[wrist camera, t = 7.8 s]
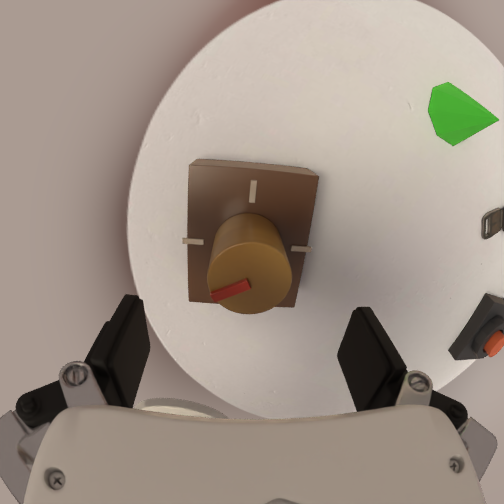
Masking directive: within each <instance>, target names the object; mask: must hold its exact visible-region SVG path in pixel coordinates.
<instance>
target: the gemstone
mask: <svg viewBox="0 0 504 504" xmlns="http://www.w3.org/2000/svg"><path fill="white" fill-rule="evenodd" d="M428 112H429V115H430V117H431V120H432V123H433V125H434V128H435V131H436V134H437V136H439V137H440V138H442V139H443V140H445V141H447V142H448V143H450V144H451V145H452V146H454V145H456V144H458V143H460V142H461V141H463V140H465V139H467V138H468V137H470V136H472V135H474V134H476V133H477V132H479V131H481V130H483V129H484V128H486V127H488V126H490V125H491V124H493V123H495V122H497V121H498V120H499V119H498V118H497V117H495V116H494V115H493V114H492V113H491V112H489V111H488V110H487V109H486V108H484V107H483V106H482V105H480V104H479V103H478V102H477V101H475V100H474V99H472V98H471V97H470V96H468V95H467V94H466V93H464V92H463V91H461V90H460V89H458V88H457V87H455V86H454V85H452V84H451V83H449V82H447V83H444V84H441V85H439V86H436V87H434V88H433V89H432V94H431V99H430V104H429V108H428Z"/></svg>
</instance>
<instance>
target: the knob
mask: <svg viewBox="0 0 504 504" xmlns="http://www.w3.org/2000/svg"><path fill="white" fill-rule="evenodd" d="M207 283H208V287H209V290H210V296H211V298H212V299H213V301H214V302H215V303H216V302H218V303H219V304H220V305H222V306H223V307H225V308H226V309H228V310H230V311H233V312H236V313H241V314H257V313H261V312H265V311H267V310H270V309H272V308H273V307H275V306H276V305H278V304H279V303H280V302H281V301H282V300H283V299H284V298H285V296H286V295H287V293H288V291H289V289H290V286H291V283H292V271H291V267H290V264H289V261H288V258H287V255H286V252H285V249H284V246H283V243H282V240H281V237H280V234H279V231H278V230H277V228H276V227H275V225H274V224H273V223H272V222H271V221H270V220H268V219H267V218H265V217H263V216H261V215H257V214H252V213H245V214H239V215H236V216H233V217H231V218H229V219H228V220H226V221H225V222H224V223H223V224H222V225H221V226H220V227H219V229H218V231H217V233H216V235H215V239H214V244H213V248H212V253H211V258H210V263H209V268H208V273H207Z"/></svg>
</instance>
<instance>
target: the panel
mask: <svg viewBox="0 0 504 504" xmlns="http://www.w3.org/2000/svg"><path fill="white" fill-rule="evenodd" d="M318 179H319V176H318V175H316V174H315V173H313V172H312V171H311V170H309V169H307V168H300V167H292V166H283V165H274V164H264V163H253V162H241V161H226V160H209V159H196V160H195V161H194V162H192V163H191V164H190V165H189V178H188V223H187V238H183V239H182V240H183V244H187V247H188V293H189V301H190V302H202V303H215V302H214V301H213V299H212V298H211V296H210V290H209V287H208V283H207V273H208V268H209V263H210V258H211V253H212V248H213V244H214V239H215V235H216V233H217V231H218V229H219V227H220V226H221V225H222V224H223V223H224V222H225V221H226V220H228V219H229V218H231V217H233V216H236V215H239V214H245V213H252V214H257V215H261V216H263V217H265V218H267V219H268V220H270V221H271V222H272V223H273V224H274V225H275V227H276V228H277V230H278V231H279V234H280V237H281V240H282V243H283V246H284V249H285V252H286V255H287V258H288V261H289V264H290V267H291V271H292V283H291V286H290V289H289V291H288V293H287V295H286V296H285V298H284V299H283V300H282V301H281V302H280V303H279V304H278V305H276V306H275V307H294V306H295V302H296V297H297V292H298V288H299V283H300V278H301V273H302V269H303V264H304V259H305V254H306V252H311V249H312V247H308V246H307V243H308V238H309V232H310V227H311V221H312V216H313V210H314V204H315V198H316V192H317V186H318ZM215 304H219V303H218V302H216V303H215Z"/></svg>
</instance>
